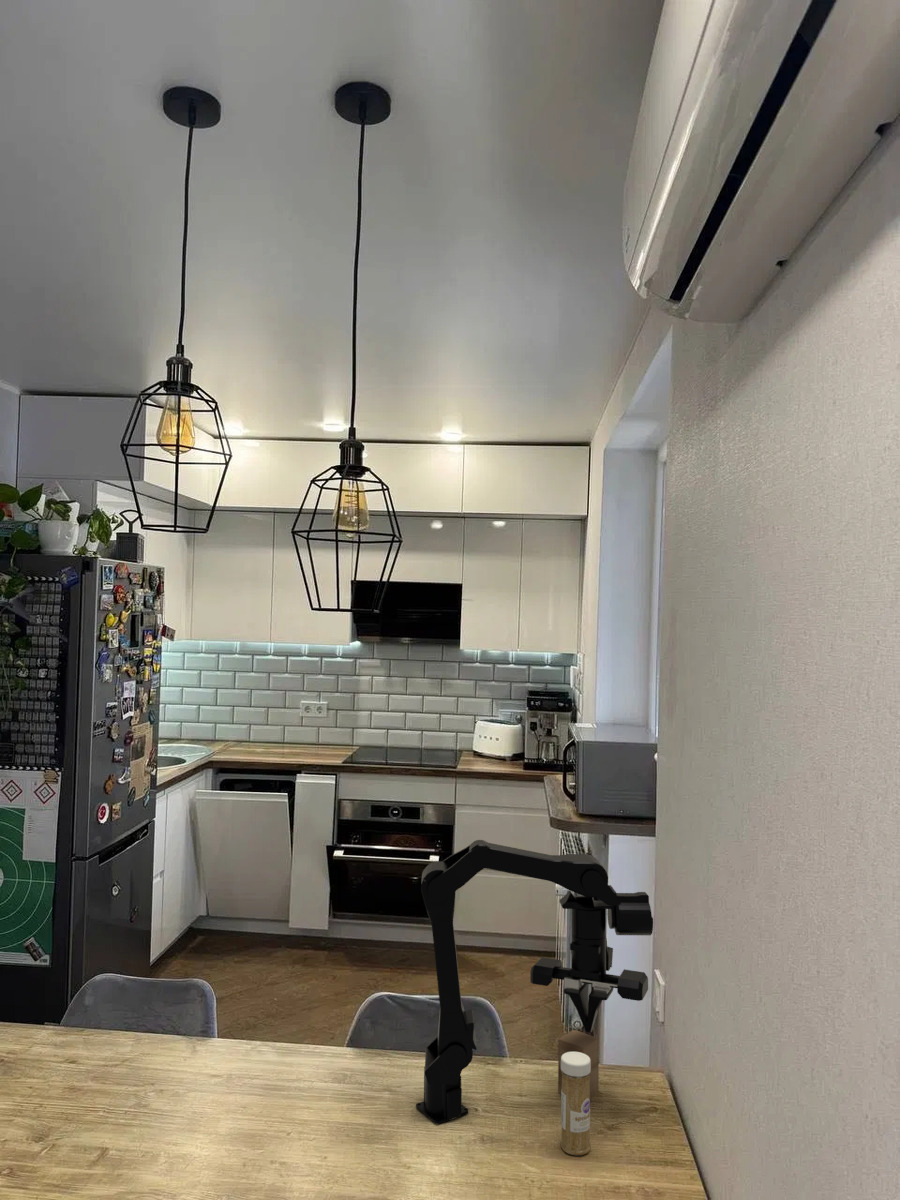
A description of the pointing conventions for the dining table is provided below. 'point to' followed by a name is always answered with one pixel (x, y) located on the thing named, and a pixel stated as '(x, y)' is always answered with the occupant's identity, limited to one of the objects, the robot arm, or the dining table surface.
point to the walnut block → (582, 1044)
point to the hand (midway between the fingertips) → (588, 1031)
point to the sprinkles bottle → (575, 1103)
